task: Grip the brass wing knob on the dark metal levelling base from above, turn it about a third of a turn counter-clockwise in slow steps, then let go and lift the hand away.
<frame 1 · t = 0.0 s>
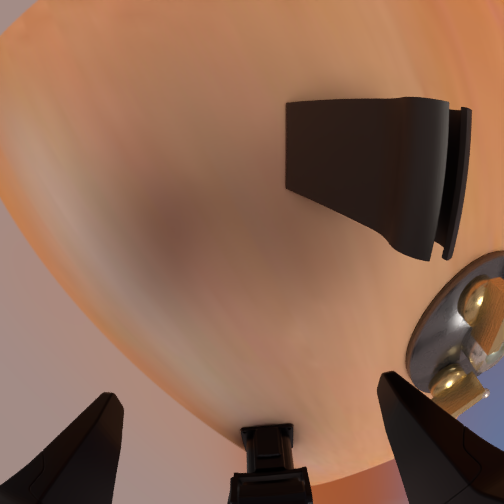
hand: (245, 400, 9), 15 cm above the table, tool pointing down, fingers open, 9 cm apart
wing knob: (457, 393, 26), point 5 cm above the table, hinge at 0.0°
levelling base: (473, 326, 28), on the table
phone stand: (347, 147, 20), on the table
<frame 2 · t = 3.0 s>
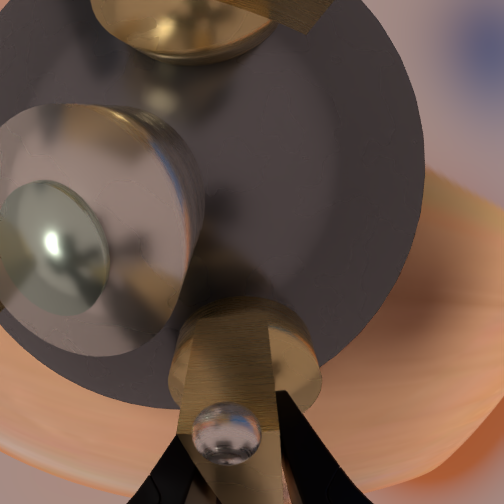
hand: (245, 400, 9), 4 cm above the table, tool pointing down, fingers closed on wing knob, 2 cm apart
wing knob: (244, 413, 8), point 5 cm above the table, hinge at 0.0°, touching gripper
levelling base: (127, 191, 10), on the table
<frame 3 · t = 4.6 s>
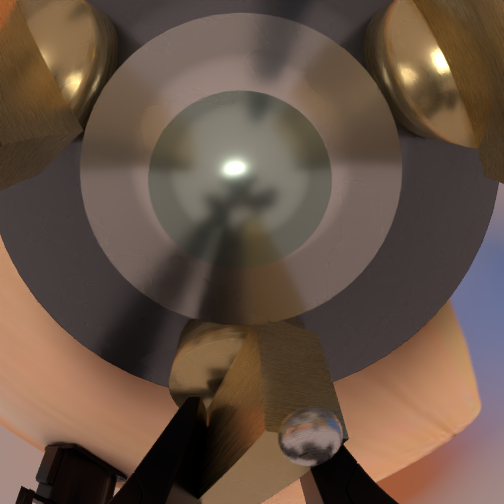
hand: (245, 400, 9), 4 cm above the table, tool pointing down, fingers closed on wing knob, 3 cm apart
wing knob: (249, 415, 8), point 5 cm above the table, hinge at 8.1°, touching gripper
levelling base: (241, 152, 10), on the table
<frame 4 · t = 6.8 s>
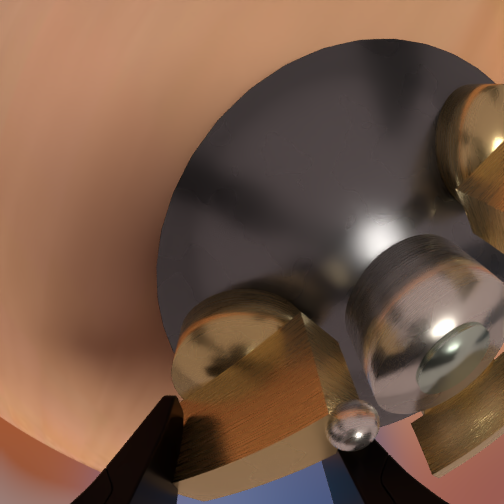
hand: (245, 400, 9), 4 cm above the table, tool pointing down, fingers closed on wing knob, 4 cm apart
wing knob: (253, 402, 8), point 5 cm above the table, hinge at 64.9°, touching gripper
levelling base: (396, 283, 12), on the table
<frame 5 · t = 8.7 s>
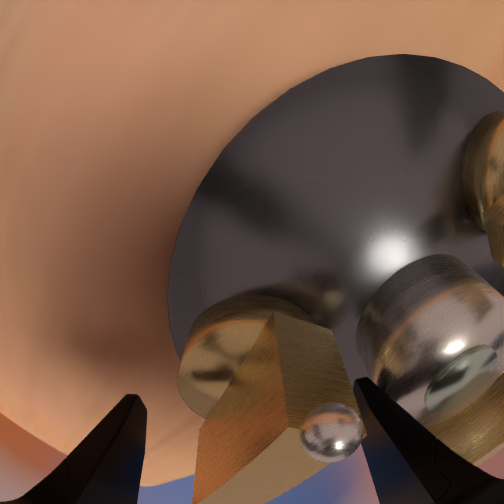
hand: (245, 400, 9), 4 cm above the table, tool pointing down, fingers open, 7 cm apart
wing knob: (259, 412, 8), point 5 cm above the table, hinge at 89.9°
levelling base: (406, 300, 12), on the table
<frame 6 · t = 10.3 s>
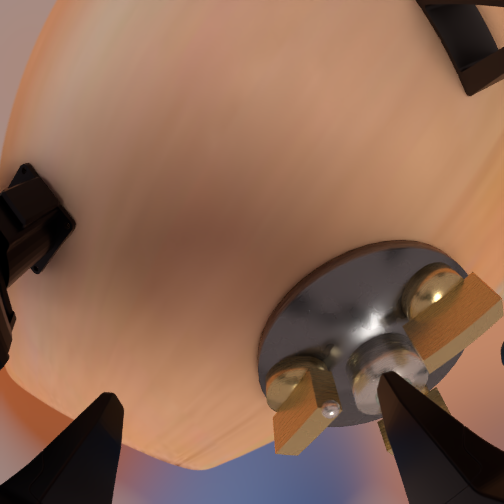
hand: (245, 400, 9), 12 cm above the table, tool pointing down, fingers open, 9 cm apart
wing knob: (303, 405, 19), point 5 cm above the table, hinge at 92.7°
levelling base: (374, 348, 23), on the table
phone stand: (461, 31, 13), on the table
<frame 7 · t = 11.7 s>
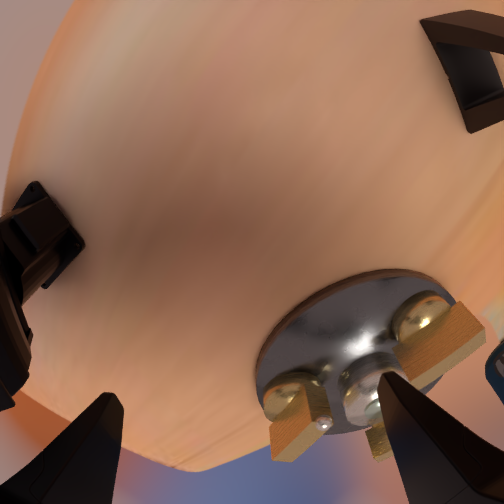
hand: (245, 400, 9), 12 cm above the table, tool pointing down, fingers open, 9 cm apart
soda can: (499, 353, 27), on the table
wing knob: (298, 417, 20), point 5 cm above the table, hinge at 93.3°
levelling base: (364, 364, 25), on the table
phone stand: (468, 67, 14), on the table
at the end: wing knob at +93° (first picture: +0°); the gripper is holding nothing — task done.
